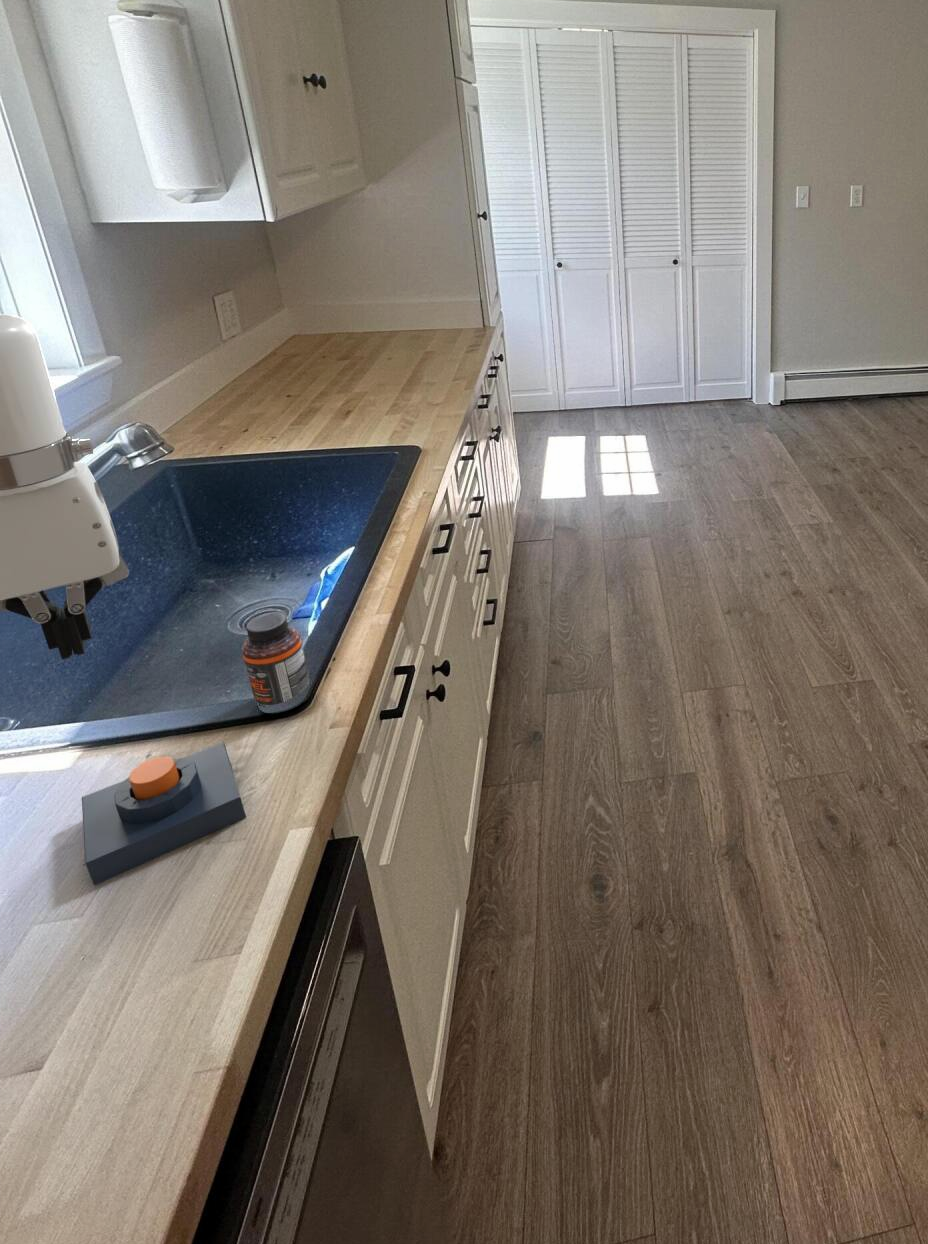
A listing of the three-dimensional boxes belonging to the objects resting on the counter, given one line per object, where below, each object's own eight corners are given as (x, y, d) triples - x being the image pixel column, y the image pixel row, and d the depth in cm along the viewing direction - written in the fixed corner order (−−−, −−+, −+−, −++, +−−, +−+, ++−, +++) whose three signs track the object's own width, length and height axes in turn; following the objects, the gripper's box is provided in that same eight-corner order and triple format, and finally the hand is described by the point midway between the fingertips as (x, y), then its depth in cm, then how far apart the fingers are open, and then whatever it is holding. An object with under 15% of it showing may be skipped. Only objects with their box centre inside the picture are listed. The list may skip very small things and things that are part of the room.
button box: (93, 886, 71) (79, 848, 70) (89, 817, 78) (75, 782, 77) (246, 818, 78) (236, 782, 77) (229, 761, 86) (219, 727, 84)
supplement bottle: (244, 709, 93) (222, 628, 89) (289, 680, 98) (270, 602, 94) (281, 723, 91) (260, 640, 87) (324, 692, 96) (306, 612, 92)
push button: (136, 806, 75) (130, 789, 74) (133, 784, 77) (127, 767, 76) (181, 788, 77) (176, 771, 76) (177, 766, 79) (172, 750, 79)
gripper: (123, 434, 73) (169, 605, 79) (-105, 470, 64) (-34, 659, 71) (127, 458, 68) (176, 640, 74) (-122, 500, 59) (-43, 703, 65)
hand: (73, 649), depth 72 cm, fingers closed
